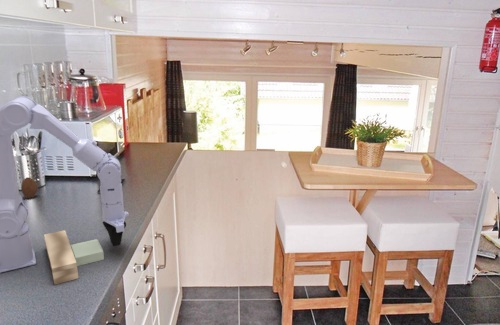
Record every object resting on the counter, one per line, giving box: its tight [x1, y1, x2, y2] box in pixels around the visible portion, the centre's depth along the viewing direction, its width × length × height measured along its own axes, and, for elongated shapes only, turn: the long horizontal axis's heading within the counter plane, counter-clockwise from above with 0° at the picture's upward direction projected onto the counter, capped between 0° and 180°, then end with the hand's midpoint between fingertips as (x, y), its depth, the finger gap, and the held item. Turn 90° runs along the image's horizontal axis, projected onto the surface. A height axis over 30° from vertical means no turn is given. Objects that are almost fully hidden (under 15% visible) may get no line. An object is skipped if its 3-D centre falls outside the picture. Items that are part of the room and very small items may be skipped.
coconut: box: [20, 177, 39, 199], centre depth 147 cm, size 5×5×8 cm
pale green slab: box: [70, 238, 105, 267], centre depth 109 cm, size 7×8×2 cm
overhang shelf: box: [43, 230, 79, 286], centre depth 106 cm, size 6×20×4 cm, turn 31°
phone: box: [97, 178, 127, 195], centre depth 160 cm, size 8×1×15 cm
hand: (116, 244), depth 113 cm, fingers closed
